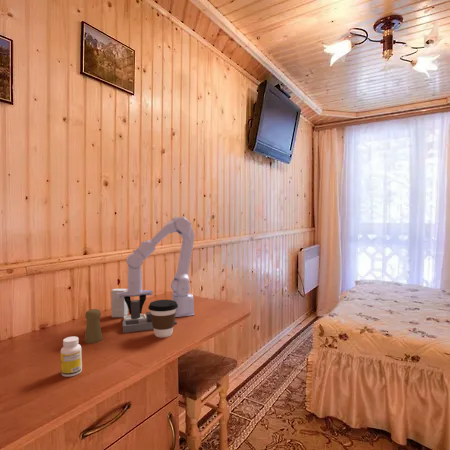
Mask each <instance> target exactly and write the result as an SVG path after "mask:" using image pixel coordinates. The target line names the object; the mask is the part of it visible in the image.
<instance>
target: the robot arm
mask: <svg viewBox="0 0 450 450" xmlns="http://www.w3.org/2000/svg"><path fill="white" fill-rule="evenodd" d="M172 233H178V234H179V236H180V237H181V238H182V239H181V246H180V253H179V258H178V263H177V269H176V273H175V274H174V277H173V280H172V281H171V283H170V288H171V290H172V291H173V292H172V294H171V296H172V298H171V300H173V301H176V302H177V304H178V308H176V314H175V318H179V317H180V318H181V317H187V316H188V317H189V316H195V300H194V295H193V294H192V293H190V290H191V287H190V276H189V272H190V266H191V265H190V264H191V260H192V253H193V249H194V242H195V232H194V230H193V227H192V223H191V222H190V220H189V219H188V218H187V217H185V216H174V217H173V218H172V219H171V220H169V221H167V223H165V225H163V226H162V227H161V229H159V231H157V233H156V234H155V235H154V236H153V237H152V238H151V239H149V240H145V241H141V242H140V244H141V245H139V246H138V247H136V249H134V250H132V252H131V253H130V254H128V256H127V257H126V260H125V262H126V265H127V292H121V293H117V298H124V300H125V302H126V304H127V306H128V314H129V315H131V297H133V298H134V297H138V300H139V301H140V314H143V312H142V311H143V307H144V304H145V302H146V299H147V296H153V293H154V292H153V290H152V289H143V287H142V285H143V281H142V280H143V279H142V277H143V276H142V265H143V262H144V261H145V260H146V259H147V258H148V257H149V256H150V255H151V254H153V252H154V251H155V250H156V246H157V245H158V244H159V243H160V242H161V241H162V240H164V238H165V237H167V236H168V235H169V234H172Z"/></svg>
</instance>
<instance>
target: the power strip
mask: <svg viewBox="0 0 450 450" xmlns="http://www.w3.org/2000/svg"><path fill="white" fill-rule="evenodd" d="M145 313H146V314H145V315H146V318H142V319H133V320H124V319H123V320H122V332H123V334H126V333H127V334H128V333H134V332H143V331H150V330H154V329H153V326H152V320H151V314H150V313H151V311H146V312H145ZM177 324H178V321H177V320H175V321H174V325H177Z"/></svg>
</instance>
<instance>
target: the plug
mask: <svg viewBox="0 0 450 450" xmlns="http://www.w3.org/2000/svg"><path fill="white" fill-rule="evenodd" d="M140 314H141V313H140V301H139V298H138V299H132V300H131V314H130V316H131V319H136V318H140Z"/></svg>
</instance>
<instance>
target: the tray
mask: <svg viewBox="0 0 450 450" xmlns="http://www.w3.org/2000/svg"><path fill="white" fill-rule="evenodd" d="M142 318H146V314H145V313H144V314H143V313H140V318H136V319H142ZM124 320H133V319H131V315H127V316H124V317H123V321H124Z"/></svg>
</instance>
